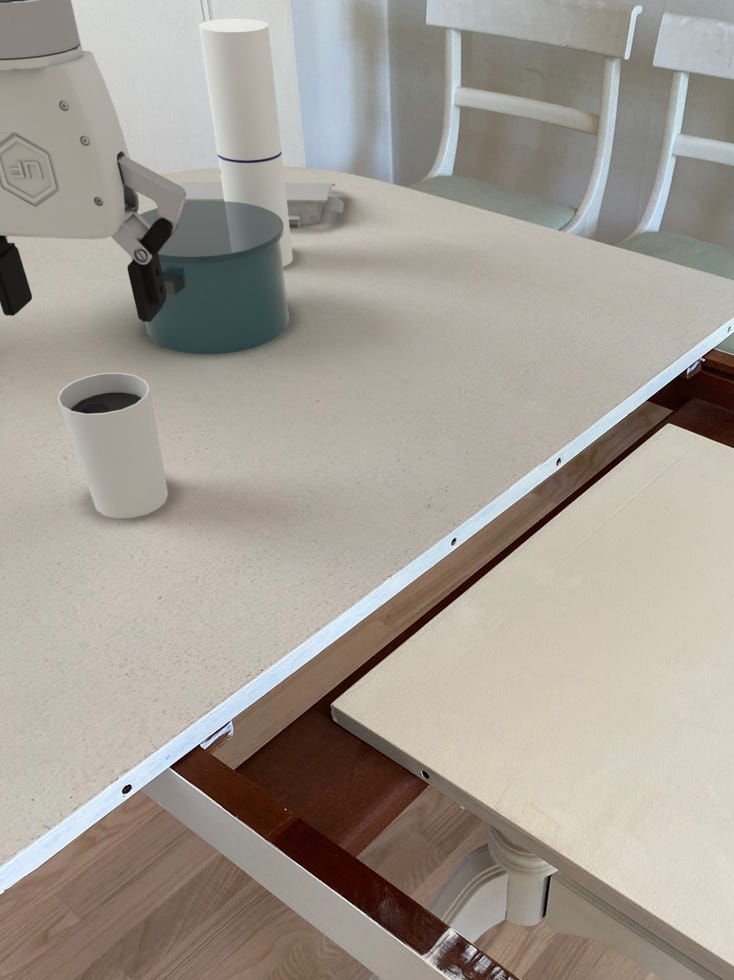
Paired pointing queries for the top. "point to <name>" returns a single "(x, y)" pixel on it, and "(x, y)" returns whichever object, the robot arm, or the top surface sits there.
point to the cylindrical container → (246, 116)
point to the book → (301, 197)
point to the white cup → (116, 442)
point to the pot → (221, 279)
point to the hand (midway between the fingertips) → (85, 311)
